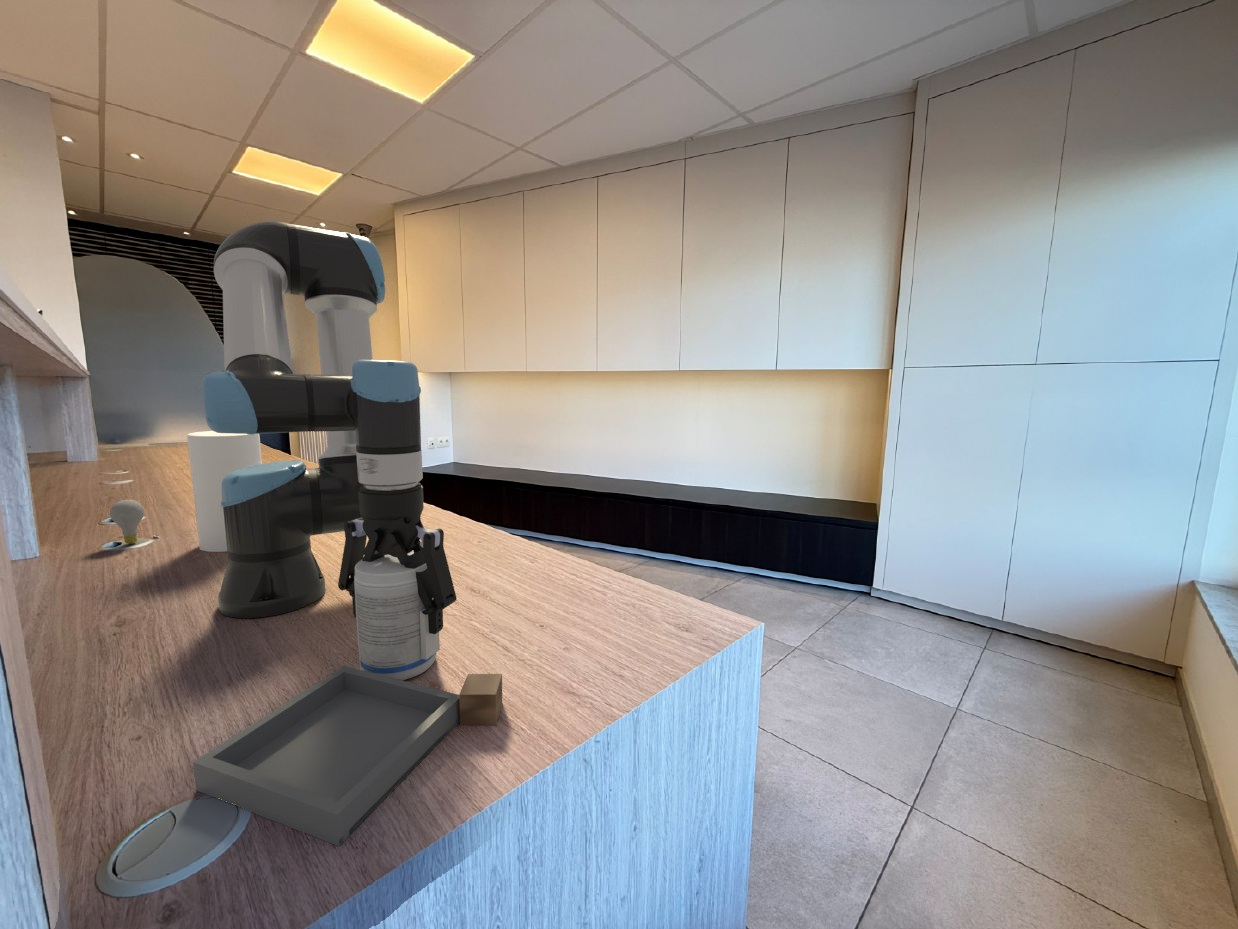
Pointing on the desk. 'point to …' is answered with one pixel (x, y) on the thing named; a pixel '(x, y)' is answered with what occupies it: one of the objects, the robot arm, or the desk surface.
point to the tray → (330, 752)
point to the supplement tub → (389, 618)
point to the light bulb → (127, 518)
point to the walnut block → (481, 700)
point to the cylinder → (217, 478)
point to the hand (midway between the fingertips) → (398, 646)
